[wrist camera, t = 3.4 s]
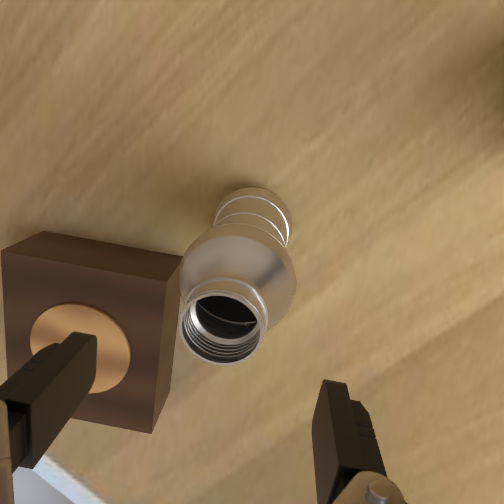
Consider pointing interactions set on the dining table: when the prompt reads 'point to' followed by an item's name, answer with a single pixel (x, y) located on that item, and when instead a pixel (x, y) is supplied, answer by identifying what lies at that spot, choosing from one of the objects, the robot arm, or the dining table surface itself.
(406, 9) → the dining table surface
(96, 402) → the walnut box
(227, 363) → the metal bottle
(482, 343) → the dining table surface
